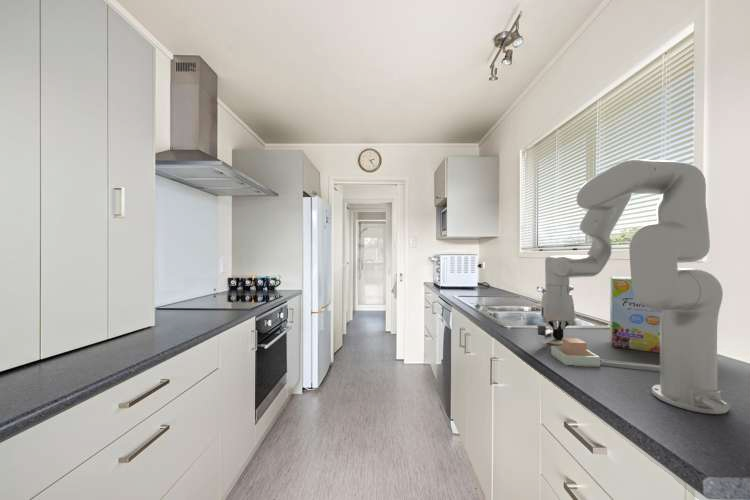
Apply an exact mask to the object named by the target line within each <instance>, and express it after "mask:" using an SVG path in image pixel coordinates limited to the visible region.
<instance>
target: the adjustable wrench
mask: <svg viewBox="0 0 750 500" xmlns="http://www.w3.org/2000/svg"><path fill="white" fill-rule="evenodd" d="M600 366H605V367H615V368H623V369H624V368H625V369H633V370H640V371H641V370H642V371H654V372H660V364H652V363H651V364H649V363H642V362H641V363H640V362H630V361H621V360H620V361H619V360H610V359H601V358H600Z"/></svg>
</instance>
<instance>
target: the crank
mask: <svg viewBox="0 0 750 500" xmlns="http://www.w3.org/2000/svg"><path fill="white" fill-rule="evenodd" d="M557 327H558V325H557ZM551 340H554V341H558V340H556V339H555V338H554V337H553V328H552V327H551V326H550V325H549V326H548V329H547V326H546V325H540V324H539V325H537V334H536V342H537V343H538V344H542V345H545V344H547V342H549V341H551ZM559 341H560V340H559Z"/></svg>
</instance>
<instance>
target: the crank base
mask: <svg viewBox="0 0 750 500" xmlns="http://www.w3.org/2000/svg"><path fill="white" fill-rule="evenodd" d="M547 343H548V344H550V345H553V346H562V341H554V340H551V341H549V342H547ZM547 343H546V344H547Z"/></svg>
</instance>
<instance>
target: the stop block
mask: <svg viewBox="0 0 750 500" xmlns="http://www.w3.org/2000/svg"><path fill="white" fill-rule="evenodd" d="M587 344H588V343H587V342H585V341H584V340H582V339H580V338H577V337H576V338H574V337H572V338H571V337H569V338H568V337H563V338H562V345H561V346H562V352H563V353H564V354H565V355H575V356H587V350H588V347H587V346H588V345H587Z"/></svg>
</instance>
